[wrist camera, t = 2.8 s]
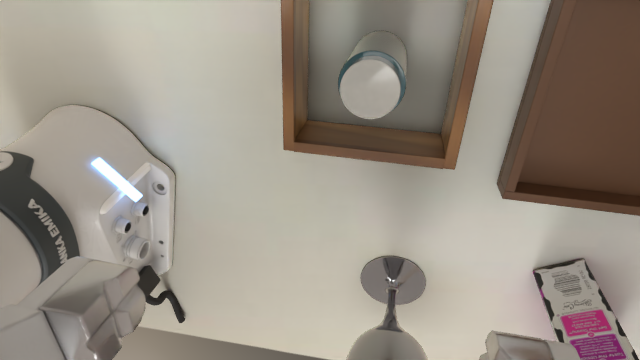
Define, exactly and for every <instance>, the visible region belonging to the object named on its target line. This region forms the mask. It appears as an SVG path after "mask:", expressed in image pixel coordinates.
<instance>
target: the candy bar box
mask: <svg viewBox="0 0 640 360" xmlns="http://www.w3.org/2000/svg"><path fill="white" fill-rule="evenodd" d="M533 274H534V277H535V280H536V283H537V286H538V289H539V292H540V294H541V297H542V300H543V303H544V306H545V309H546V311H547V314H548V317H549V320H550V323H551V325H552V328H553V331H554V334H555V337H556V340H557V342H561V343H567V344H572V345H573V346H574V348H575V349H576V350H577V352H578V355H579V357H580V359H581V360H639V359H638V357H637V355H636V353H635V351H634V349H633V348H632V346H631V344H630V342H629V340H628V338H627V336H626V335H625V333H624V332H623V330H622V328H621V326H620V324H619V322H618V320H617V318H616V317H615V315H614V313H613V311H612V310H611V308H610V306H609V304H608V302H607V300H606V299H605V297H604V295H603V293H602V291H601V289H600V288H599V286H598V284H597V282H596V280H595V279H594V277H593V275H592V273H591V271H590V270H589V268H588V266H587V264H586V262H585V260H584V259H581V260H576V261H572V262H567V263H563V264H559V265H553V266H549V267H544V268H540V269H536V270H534V271H533Z"/></svg>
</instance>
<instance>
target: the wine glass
mask: <svg viewBox="0 0 640 360" xmlns="http://www.w3.org/2000/svg"><path fill="white" fill-rule="evenodd" d="M361 283H362V286H363V288H364V289H365V291H366V292H367V293H368V294H369V295H370V296H371V297H372V298H374V299H376V300H378V301H380V302H383V303H386V304H387V308H386V313H385V316H384V319H383V321H382V322H381V323H380V324H379V325H378V326H376V327H374V328H372V329H370V330H368V331H366V332H364V333H363V334H362V335H361V336H360V337H358V338H357V340H356V341H355V342H354V344H353V345H352V347H351V349H350V351H349V354H348V356H347V358H346V360H428V358H427V356H426V354H425V352H424V350H423V348H422V346H421V345H420V344H419V343H418V342H417V341H416V339H415V338H414V337H412V336H411V335H410V334H409V333H407V332H406V331H405V330H404V329H402V328H401V326H400V325H399V323H398V321H397V316H396V307H395V305H401V304H407V303H410V302H412V301H414V300H416V299H417V298H418V297H420V295H421V294H422V293H423V291H424V289H425V285H426V280H425V276H424V274H423V272H422V271H421V269H420V268H419V267H418V266H417V265H416V264H414V263H413V262H411V261H409V260H407V259H404V258H401V257H395V256H385V257H380V258H377V259H374V260H372V261H371V262H369V263H368V264H367V265H366V266H365V267H364V269H363V270H362V273H361Z"/></svg>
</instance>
